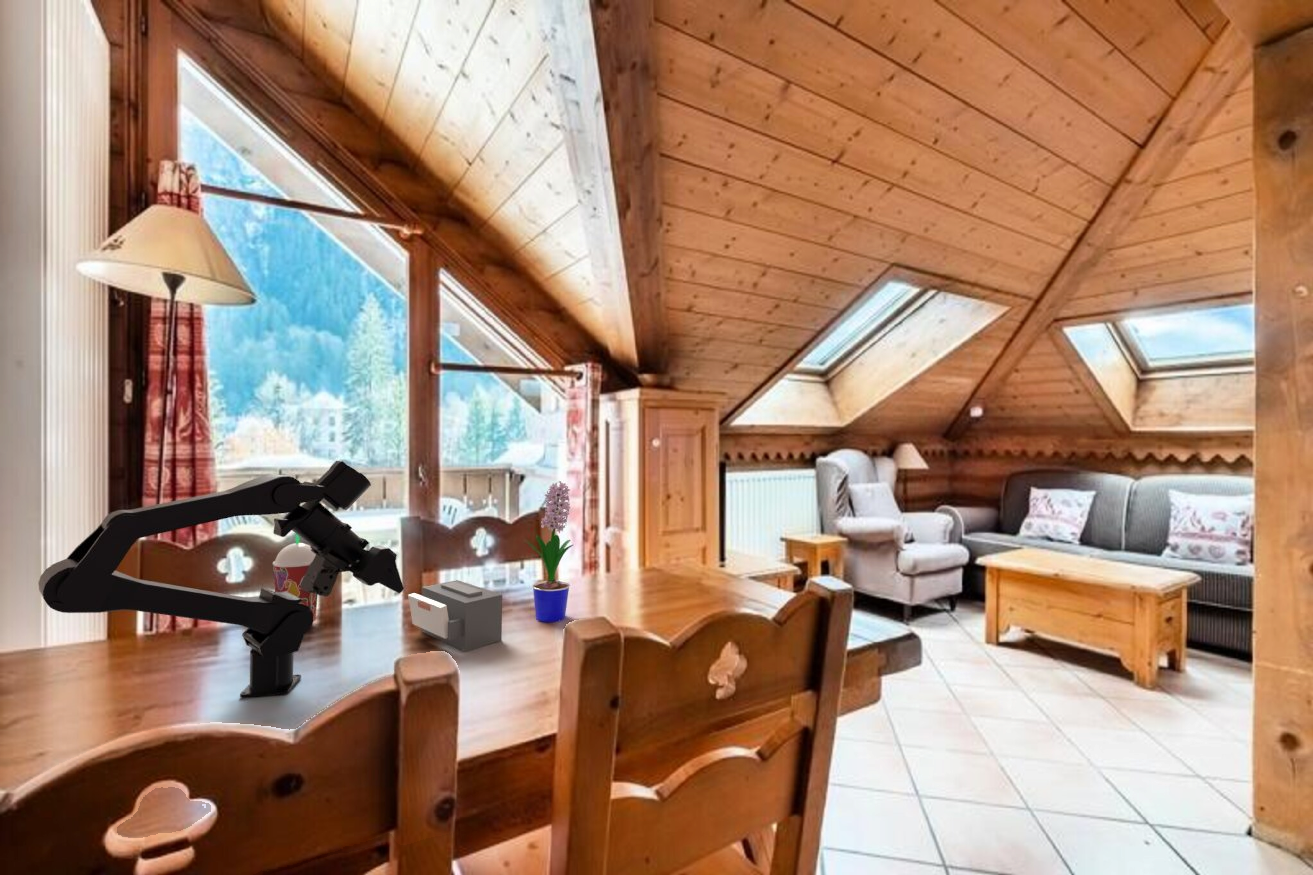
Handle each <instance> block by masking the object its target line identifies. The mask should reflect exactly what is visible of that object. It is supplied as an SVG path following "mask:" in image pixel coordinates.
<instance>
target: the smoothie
mask: <svg viewBox="0 0 1313 875" xmlns="http://www.w3.org/2000/svg"><path fill="white" fill-rule="evenodd" d="M310 547H311V545H309V544H308V543H306V542H300V536H298V535H297V534H296V533H295V542H294V543H290V544H288V545H286V546H284V547H283V548H282V549H281V550H280V551H279V552H278V553H277V556H276V557H275V560H274V561H272V566H273V582H274V584H273V585H274V592H285V591H287V592H289V593H291V594H292V595H294V596H296V597H298V598H300V599H302V601H301V603H303V604H305V605H307V606H308V607H310V608H311V611H312V613H313V623H312V626H311V627H310V628H312V627H313V625H314V622H315V621H316V620H317V619H316V618H317V606H318V596H319V595H317V594H313V593H309V592H307V591H305V590H303V589H301V588H300V585H301V582H302V580H303V578H304V576H305V574H306V572H307V570H308V568H309V566H310V564H311V562H312V561H313V559H314V558H315V556H316V554H314V553H313V552H312V551H311V548H310Z"/></svg>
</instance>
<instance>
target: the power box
mask: <svg viewBox="0 0 1313 875" xmlns="http://www.w3.org/2000/svg"><path fill="white" fill-rule="evenodd" d="M421 596H424V597H426V598H429V599H431V600H434V601H437V602H439V603H442V604H444V605H447V612H448V619H449V621H448V638H446V639H445V638H442V637H440V636H438V635H436V634H434V633H431V632H429V631H427V630H425V629H422V628H420V632H422V634H425V635H428V636H430V637H432V638H434V639H436V640H438V641H441V642H443V643H445V644H447V645H449V646H451V647H454V648H456V649H458V650H460V651H463V652H469V651H471V650H475V649H478V648H481V647H485V646H489V645H492V644H494V643H497V642H498V643H499V642H502V639H503V638H502V637H503V636H502V634H503V633H502V632H503V631H502V630H503V629H502V628H503V625H502V624H503V593H502V594H501V593H498V592H495V591H492V590H490V589H488V588H487V589H486V588H483V587H479V586H477V585H475V584H474V585H473V584H471V583H467V582H464V581H461V580H459V579H457V580H451V581H446V582H441V583H435V584H431V585H424V586H422V587H421Z"/></svg>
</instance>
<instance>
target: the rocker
mask: <svg viewBox="0 0 1313 875" xmlns="http://www.w3.org/2000/svg"><path fill="white" fill-rule="evenodd" d="M407 597H408V603H409V610H410V617H411V624H412V625H414V626H416V627H419V628H420V629H421V628H422V629H425V630H427V631H429V632H431V633H434V634H436V635H438V636H440V637H442V638H445V639H446V638H448V621H449V619H448V612H447V605H444V604H442V603H439V602H437V601H434V600H431V599H429V598H426V597H424V596H422V594H418V593H415V592H413V593H410V594H408V595H407Z"/></svg>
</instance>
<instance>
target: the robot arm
mask: <svg viewBox="0 0 1313 875" xmlns="http://www.w3.org/2000/svg"><path fill="white" fill-rule="evenodd" d="M371 486H372V484H371V482H370V480H369V479H368V478H367V477H366V476H365V474H363V473H362V472H358V470H356V469H355V468H353V467H351V466H350V465H348V464H346V462H345V461H343V460H336V461H335V462H333V463H332V464H331V466H330V467H329V469H327V471H326V472H324V473H323V475H322V476H321V477H320V478H319V479H317V481H315V482H308V481H303V482H300V480H298V479H297V478H295V477H293V476H289V475H283V474H276V473H269V474H266V475H261V476H258V477H256V478H254V479H251V480H248V481H246V482H245V481H244V482H242V483H241V484H239V485H237V486H236V485H235V486H234V487H232V488H229V489H226V490H223V491H222V490H221V491H218V492H214V493H213V492H212V493H208V494H203V495H197V496H192V497H189V498H183V499H177V500H173V501H168V502H164V503H158V504H153V505H148V506H142V507H138V508H132V509H118V510H115V511H112V512H110V513H109V514H107V515H106V516H105V518H104V519H103V520H102V522H101V523H100V524H99V525H98V526H97V528H96V529H94V530H93V531H92V532H91V533H90V534H89V535H88V536H87V537H86V538H85V539H84V540H82V542H81V543H79V544H78V545H77V546H76V547H75V548H74V549H73V551H72V552H71V553H70V554H69V555H68V556H67V557H66V558H65V559H63V560H59V561H57V562H55V563H53V564H52V565H50V566H49V567H48V568H46V569H45V570H44V571H43V572H42V573H41V575H40V577H39V580H38V584H37V585H38V591H39V593H40V595H41V597H42V599H43V601H44V602H45V603H46V605H47V606H48V607H49V609H52V610H54V611H56V612H59V613H65V614H66V613H67V614H86V613H87V614H94V613H95V614H96V613H97V614H98V613H107V612H108V613H109V612H118V611H119V612H120V611H133V612H134V611H135V612H142V613H149V614H157V615H163V616H164V615H165V616H171V617H179V618H185V619H192V620H193V619H194V620H199V621H200V620H201V621H206V622H207V621H208V622H215V623H221V624H222V623H223V624H228V625H235V626H236V625H237V626H242V627H245V628H246V630H244V631H243V633H242V634H241V635H242V638H243V641H244V642H245V645H246V646H247V647H250V648H251V649H250V651H249V684H248V685H247V686H246V687H245V688H244V689H243V690H242V691H241V692H240V693H239V697H240V698H249V697H250V698H251V697H265V696H276V695H277V696H279V695H286V694H289V693H290V691H291V690H293V688H294V687H295V685H296V684H297V683H298V682H299V680H301V678H302V674H294V653H296V652H298V651H299V650H300V647H301V644H302V642H303V639H304V637H305V635H306V634H307V633H308V632H309V631H310V629H311V628H312V627H313V625H312V623H313V624H314V621H313V613H312V611H311V608H310V607H308V606H307V605H305V604H303V603H301V601H302V599H300V598H298V597H296V596H294V595H292V594H291V593H289V592H287V591H285V592H275V590H274V591H273V590H271V589H268V588H266V587H261V588H260V592H259V595H256V596H248V597H247V596H238V595H233V594H227V593H221V592H216V591H211V590H210V591H209V590H205V589H204V590H203V589H199V588H192V587H186V586H181V585H180V586H179V585H174V584H168V583H163V582H157V581H151V580H150V581H149V580H147V579H146V580H144V579H140V578H137V577H136V578H135V577H133V576H131V575H128V574H125V573H122V572H120V571H118V570H117V568H118V567H119V566H120V564H121V563H122V561H123V560H124V558H125V557H126V555H127V554H128V552H129V551H130V549H131V547H133V545H134V544H135V543H136V542H137V541H138V540H139V539H142V538H146V537H150V536H155V535H158V534H164V533H168V532H172V531H177V530H181V529H185V528H186V529H187V528H190V527H195V526H199V525H203V524H207V523H211V522H216V521H217V522H218V521H220V520H225V519H230V518H234V517H242V516H267V515H269V516H270V515H277V514H278V515H281V514H286V515H284V516H283V517H275V518H274V519H273V523H274V526H273V532H272V533H273V535H275V536H278V537H281V538H284V537H286V536H287V535H288V534H289V533H290V532H293V533H294V534H295V535H296V534H297V535H298V536H299V538H301V539H302V540H303V541H305V543H306V544H307V545H310V546H311V547H310V548H311V551H312V552H313V553H314V554H316V556H315V558H314V559H313V561H312V562H311V564H310V566H309V568H308V570H307V572H306V574H305V576H304V578H303V580H302V582H301V585H300V588H301V589H303V590H305V591H307V592H309V593H313V594H317V595H318V596H320V597H321V596H322V597H326V598H327V597H329V596H330V595H331V594H332V591H333V588H334V586H335V583H336V581H337V579H338V576H339V574H340V573H345V572H350V573H352V577H354V578H355V579H356V580H358V581H359V582H361V583H362V584H364V585H366V586H369V587H371V586H374V585H376V584H380V585H382V586H384V587H386V588H388V589H390V590H392V591H393V592H395V593H397V594H401V593H402V592H403V590H404V589H405V588H404V585H403V581H402V579H401V575H400V572H399V568H398V565H397V561H396V560H397V554H396V553H395V552H394V551H393V550H391V548H389V547H386V546H382V545H373V546H371V547H370V548H369V550H367V549H365V548H366V547H367V546H368V545H369V544H370V542H369V541H368V540H367V539H365V538H363V537H359V535H357V534H356V533H355V532H354V531H353V530H352V529H353V526H351V525H350V524H348V523H346V522H343V521H342V520H340V519H339V518H338V517H337V516H335V515H334V514H333V513H332V511H334V512H338V511H339V510H340V509H342V510H343V511H348V509H350V508H351V507H352V506H353V504H354V503H355V502H356V501H358V500H359V498H360V497H361V496H362V495H363V494H364V493H365V492H367V491H368V489H369V488H370V487H371ZM320 502H321V503H320ZM301 504H302V505H301ZM323 504H324V505H325V506H324V505H323ZM326 507H327V508H326ZM328 508H329V509H331V510H332V511H330V510H328ZM311 626H312V627H311Z"/></svg>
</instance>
